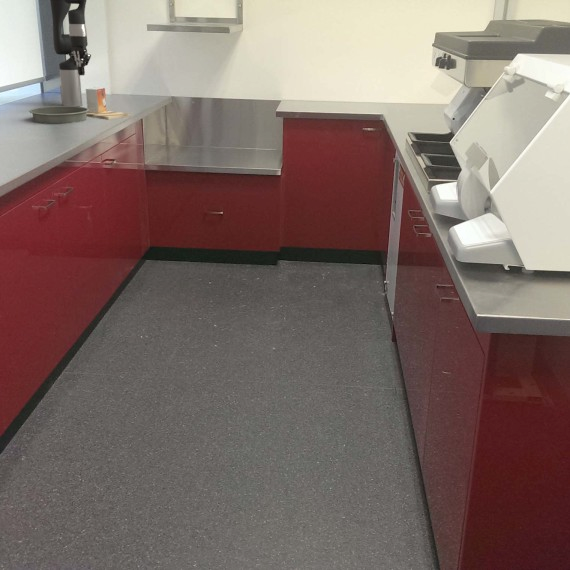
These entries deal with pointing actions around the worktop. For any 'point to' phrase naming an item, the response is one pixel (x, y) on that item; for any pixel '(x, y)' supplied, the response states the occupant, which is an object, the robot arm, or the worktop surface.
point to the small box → (96, 100)
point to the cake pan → (59, 114)
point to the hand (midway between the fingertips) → (81, 75)
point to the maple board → (108, 115)
